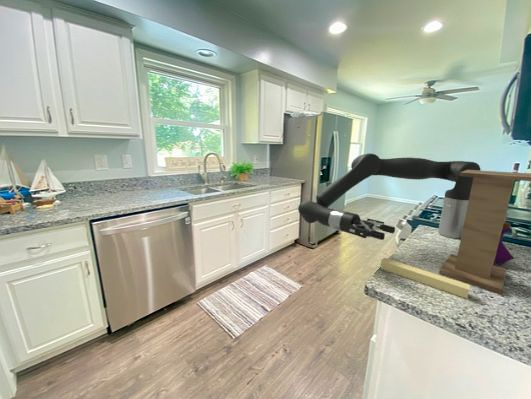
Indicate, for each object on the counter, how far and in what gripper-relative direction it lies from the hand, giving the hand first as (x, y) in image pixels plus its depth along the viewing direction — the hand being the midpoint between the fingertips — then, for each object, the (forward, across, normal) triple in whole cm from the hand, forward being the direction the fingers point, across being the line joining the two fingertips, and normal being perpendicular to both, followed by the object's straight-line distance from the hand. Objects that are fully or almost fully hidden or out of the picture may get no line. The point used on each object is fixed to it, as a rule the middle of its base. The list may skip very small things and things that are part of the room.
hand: (389, 233), depth 74 cm
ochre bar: (+10, 0, +12) cm, 16 cm away
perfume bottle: (+23, +32, +12) cm, 41 cm away
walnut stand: (+20, +16, +12) cm, 28 cm away
